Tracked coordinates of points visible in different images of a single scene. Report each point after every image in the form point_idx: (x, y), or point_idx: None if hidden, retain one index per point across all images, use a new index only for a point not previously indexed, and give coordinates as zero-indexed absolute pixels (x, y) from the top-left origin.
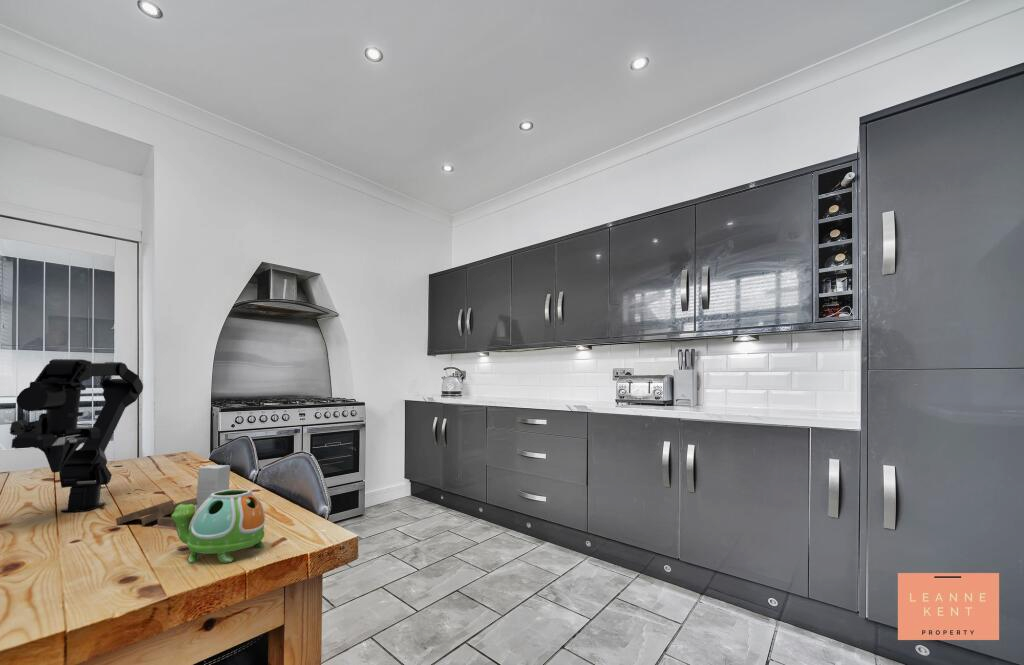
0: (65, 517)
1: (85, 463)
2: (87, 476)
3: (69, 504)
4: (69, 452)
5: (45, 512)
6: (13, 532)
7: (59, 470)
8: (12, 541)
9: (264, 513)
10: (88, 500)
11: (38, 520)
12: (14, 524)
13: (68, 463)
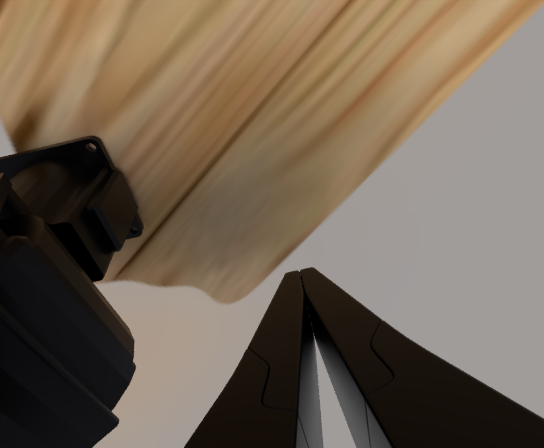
0: (194, 145)
1: (18, 327)
2: (51, 233)
3: (130, 215)
4: (297, 394)
5: (153, 279)
6: (386, 143)
7: (292, 275)
8: (514, 19)
9: None
10: (67, 178)
11: (243, 207)
12: (291, 236)
13: (93, 406)
